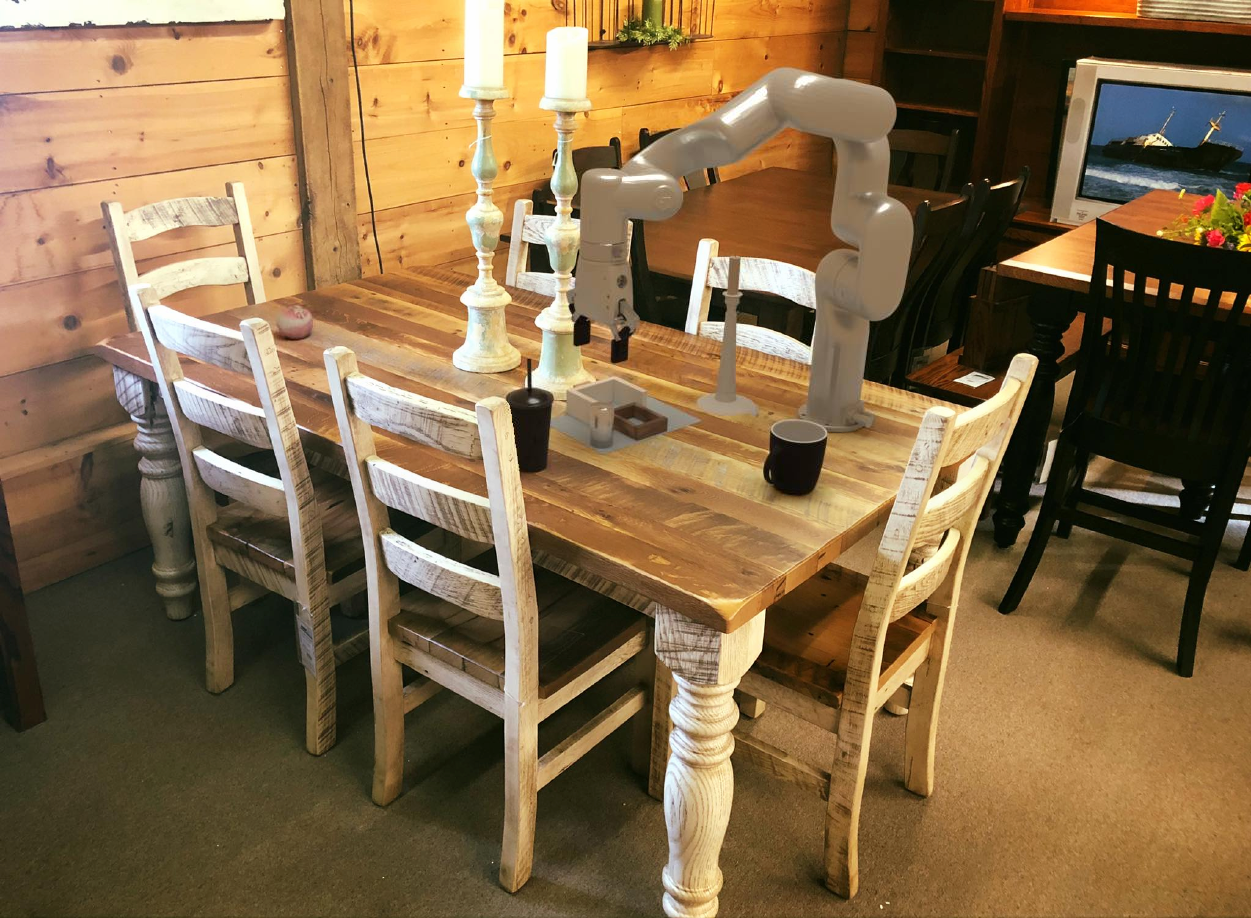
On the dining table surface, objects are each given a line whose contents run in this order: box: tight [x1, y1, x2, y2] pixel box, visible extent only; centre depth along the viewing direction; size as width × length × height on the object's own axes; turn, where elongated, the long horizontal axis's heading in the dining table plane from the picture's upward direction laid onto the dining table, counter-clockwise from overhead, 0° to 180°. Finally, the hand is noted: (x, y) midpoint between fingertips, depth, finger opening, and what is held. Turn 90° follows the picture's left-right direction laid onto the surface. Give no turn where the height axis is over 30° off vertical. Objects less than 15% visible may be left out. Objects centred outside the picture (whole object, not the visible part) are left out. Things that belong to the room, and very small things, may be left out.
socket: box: [614, 402, 668, 441], centre depth 187 cm, size 9×7×2 cm
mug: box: [762, 418, 828, 497], centre depth 168 cm, size 12×9×10 cm
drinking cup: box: [505, 358, 555, 474], centre depth 169 cm, size 8×8×20 cm
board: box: [550, 395, 702, 455], centre depth 190 cm, size 17×23×2 cm
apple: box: [276, 304, 314, 341], centre depth 229 cm, size 8×8×7 cm
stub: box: [590, 401, 614, 449], centre depth 179 cm, size 4×4×7 cm
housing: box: [565, 375, 648, 425], centre depth 193 cm, size 12×11×4 cm
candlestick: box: [696, 253, 760, 418], centre depth 192 cm, size 13×13×30 cm
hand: (600, 353), depth 173 cm, fingers open, 9 cm apart
